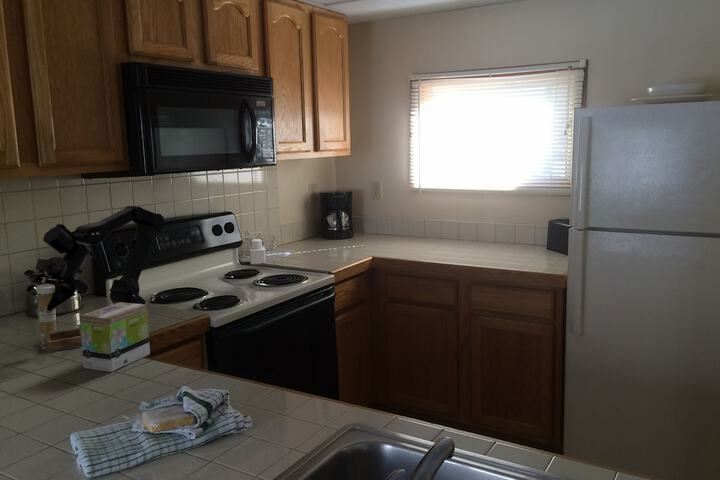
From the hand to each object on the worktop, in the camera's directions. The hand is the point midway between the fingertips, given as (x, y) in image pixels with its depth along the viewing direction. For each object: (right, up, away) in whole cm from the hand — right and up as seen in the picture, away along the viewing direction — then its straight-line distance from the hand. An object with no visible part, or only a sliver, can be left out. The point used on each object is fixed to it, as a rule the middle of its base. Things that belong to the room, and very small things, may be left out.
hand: (42, 309), depth 170 cm
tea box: (+23, -14, -4) cm, 27 cm away
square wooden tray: (+1, -12, +12) cm, 17 cm away
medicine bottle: (+38, +8, +132) cm, 137 cm away
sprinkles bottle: (0, -7, +3) cm, 7 cm away
